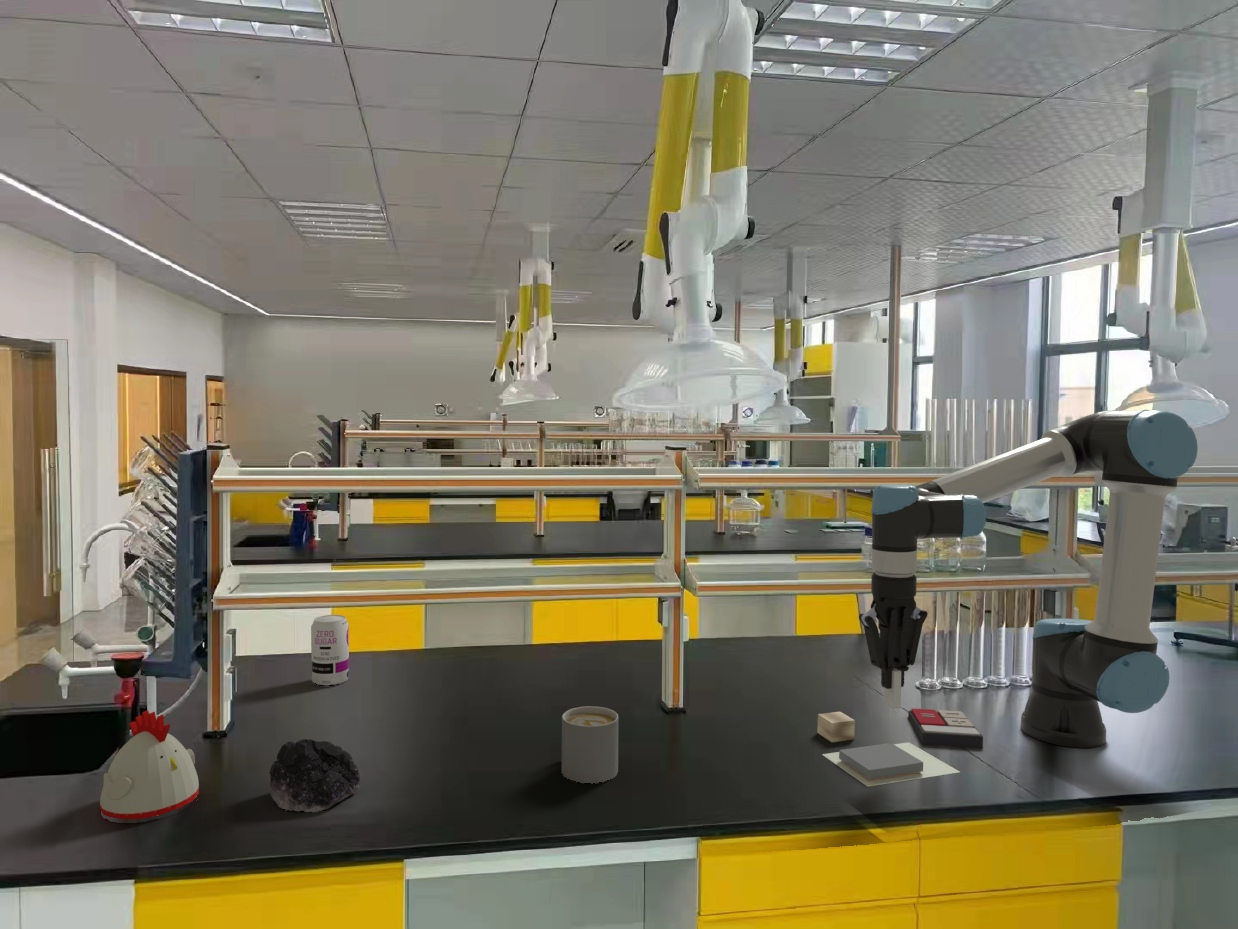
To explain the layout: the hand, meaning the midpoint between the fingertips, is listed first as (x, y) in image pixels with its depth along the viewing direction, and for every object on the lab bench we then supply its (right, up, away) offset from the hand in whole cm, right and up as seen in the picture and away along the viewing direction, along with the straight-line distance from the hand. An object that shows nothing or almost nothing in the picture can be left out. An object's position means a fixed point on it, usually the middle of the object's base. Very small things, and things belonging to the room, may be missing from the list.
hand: (892, 705), depth 148 cm
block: (-6, -11, +15) cm, 19 cm away
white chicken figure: (-124, -12, -13) cm, 125 cm away
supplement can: (-116, -9, +48) cm, 126 cm away
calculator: (+16, -12, +17) cm, 26 cm away
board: (0, -12, +2) cm, 12 cm away
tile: (+3, -10, +2) cm, 10 cm away
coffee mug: (-54, -12, +2) cm, 55 cm away
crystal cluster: (-98, -12, -10) cm, 99 cm away
